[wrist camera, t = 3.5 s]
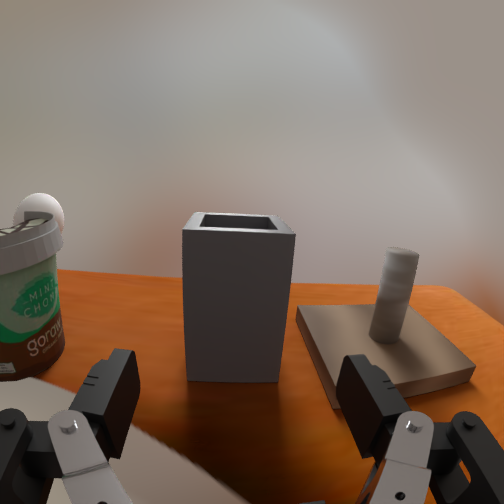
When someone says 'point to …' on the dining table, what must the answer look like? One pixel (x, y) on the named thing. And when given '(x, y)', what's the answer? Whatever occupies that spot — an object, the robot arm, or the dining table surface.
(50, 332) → the food container
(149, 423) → the dining table surface
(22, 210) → the lightbulb
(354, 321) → the post stand
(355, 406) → the robot arm
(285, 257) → the sleeve
